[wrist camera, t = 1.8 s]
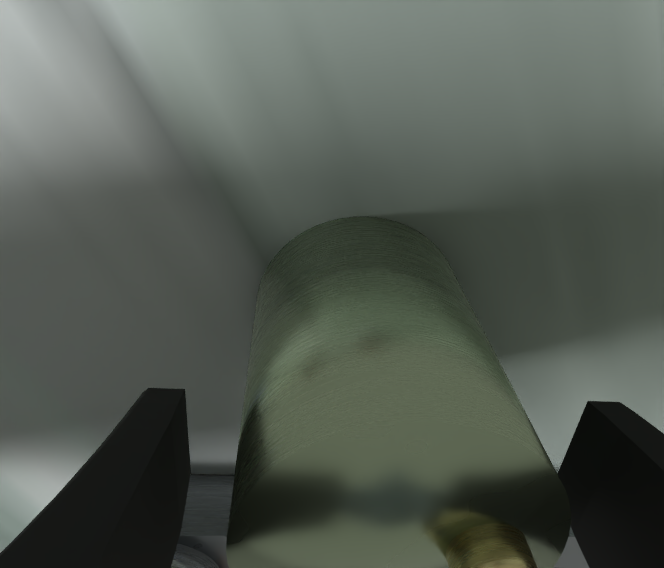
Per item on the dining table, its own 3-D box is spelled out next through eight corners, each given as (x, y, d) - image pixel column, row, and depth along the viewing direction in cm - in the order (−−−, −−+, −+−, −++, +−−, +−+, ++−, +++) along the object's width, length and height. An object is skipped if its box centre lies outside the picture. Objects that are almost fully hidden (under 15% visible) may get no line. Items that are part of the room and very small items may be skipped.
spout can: (255, 384, 15) (220, 716, 8) (257, 210, 12) (210, 486, 6) (437, 389, 15) (544, 708, 8) (475, 222, 12) (668, 493, 6)
